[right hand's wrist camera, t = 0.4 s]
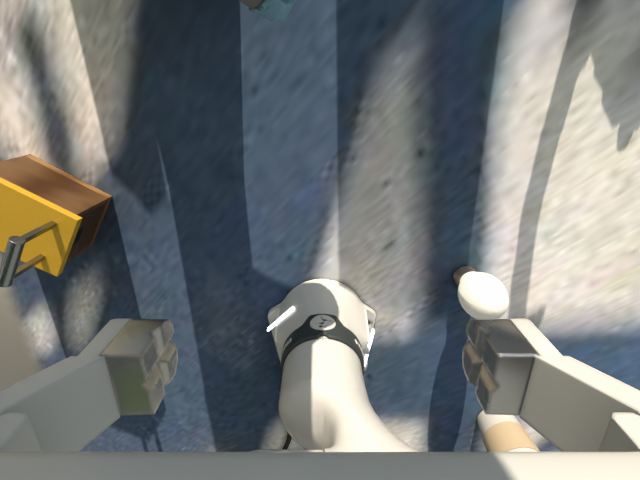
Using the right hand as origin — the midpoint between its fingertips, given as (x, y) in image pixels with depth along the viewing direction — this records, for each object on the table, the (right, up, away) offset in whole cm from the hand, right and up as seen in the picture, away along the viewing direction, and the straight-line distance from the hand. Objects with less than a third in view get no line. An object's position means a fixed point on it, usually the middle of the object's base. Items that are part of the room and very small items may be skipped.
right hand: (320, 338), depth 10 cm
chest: (-40, +9, +48) cm, 63 cm away
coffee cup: (+35, -33, +65) cm, 80 cm away
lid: (-40, +5, +39) cm, 56 cm away
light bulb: (+24, -3, +53) cm, 58 cm away
